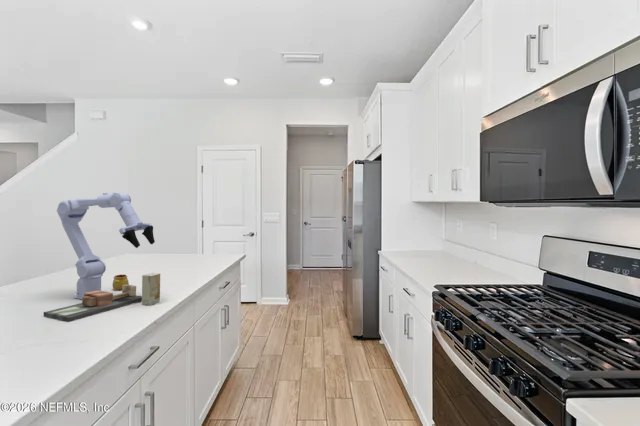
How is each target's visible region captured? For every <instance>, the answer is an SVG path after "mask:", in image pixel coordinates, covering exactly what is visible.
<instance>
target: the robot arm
mask: <svg viewBox="0 0 640 426" xmlns="http://www.w3.org/2000/svg"><path fill="white" fill-rule="evenodd" d="M96 206H98V207H99V208H101V209H105V208H106V209H108V208H109V209H110V208H114V209H115V210H116V211H117V213H118V214H119V216H120V217H121V219H122V221H123V223H124V224H125V226H124V227H120V229H119V230H118V232H119V233H120V235H122V236H121V237H122V238H123V239H124V240H126V241H128V242H129V243H130V244H131V245H132V246H133V247H135V249H137V248H138V249H139V247H140V246H141V243H140V241H139V240H138V238H137V235H136V232H137V231H142V230H143V231H142V232H141V235H143V236H144V238H146V240H147V241H148V243H149V244H150V245H153V244H154V243H156V241H155V237H154V226H153V225H152V223H150V222H149V223H148V222H147V223H146V222H143V221H141V219H140V218H139V216H138V213H137V212H136V211H135V209H134V207H133V205H132V198H131V195H130V194H127V193H118V192H112V193H109V194H108V192H105V193H102V194H99V195H98V196H97V197H95V198H93V197H90V198H86V197H85V198H74V199H68V200H61V201H60V202H59V203H58V206H57V209H56V212H57V215H58V217H59V219H60V221H61V225H62V228H63V230H64V231H65V233H66V236H67V238H68V240H69V242H70V243H71V246H72V248H73V250H74V253H75V254H76V256H77V259H78V260H77V261H76V263H75V264H74V265H75V268H76V273H77V275H78V277H79V279H78V280H77V282H76V295H75V296H74V299H79V300H82V297H84V293H86V292H91V291H95V290H98V291H102V277H103V274H104V273H105V272H106V271H107V270H106V268H107V267H106V266H107V265H106V264H105V262H104V261H103V260H102V259H101V257H100V256H98V255H95V254H94V253H93V251H92V249H91V247H90V245H89V244H88V242H87V239H86V237H85V236H84V234H83V231H82V230H81V227H80V225H79V223H80V222H81V221H83V218H84V217H85V216H86V213H87V212H88V210H89V208H90V207H96Z"/></svg>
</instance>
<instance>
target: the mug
mask: <svg viewBox="0 0 640 426" xmlns="http://www.w3.org/2000/svg"><path fill="white" fill-rule="evenodd" d="M128 279H129V278H128V276H127V275H126V274H116V275H114V276H113V281H112V289H113V291H115V292H116V291H122V285H130V284H129V280H128Z"/></svg>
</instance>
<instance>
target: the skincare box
mask: <svg viewBox="0 0 640 426" xmlns="http://www.w3.org/2000/svg"><path fill="white" fill-rule="evenodd" d="M141 277H142V278H141V279H142V280H141V296H142V301H141V305H142V306H143V305H145V306H152V305H155V304H158V303H159V302H161V273H157V272H151V273H146V274H143V275H141Z"/></svg>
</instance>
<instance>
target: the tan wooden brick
mask: <svg viewBox="0 0 640 426" xmlns="http://www.w3.org/2000/svg"><path fill="white" fill-rule="evenodd" d="M111 293H112V301H113V300H114V299H118V298H122V297H125V296H135V295H137V286H136V285H132V284H129V285H122V290H121V293H116V294H113V292H111ZM81 300H82V301H81V303H82V305H85V306H95V305H97V297H96V296H85V297H82V299H81Z"/></svg>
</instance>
